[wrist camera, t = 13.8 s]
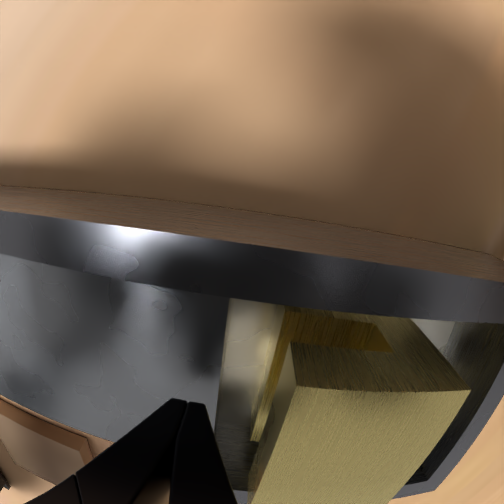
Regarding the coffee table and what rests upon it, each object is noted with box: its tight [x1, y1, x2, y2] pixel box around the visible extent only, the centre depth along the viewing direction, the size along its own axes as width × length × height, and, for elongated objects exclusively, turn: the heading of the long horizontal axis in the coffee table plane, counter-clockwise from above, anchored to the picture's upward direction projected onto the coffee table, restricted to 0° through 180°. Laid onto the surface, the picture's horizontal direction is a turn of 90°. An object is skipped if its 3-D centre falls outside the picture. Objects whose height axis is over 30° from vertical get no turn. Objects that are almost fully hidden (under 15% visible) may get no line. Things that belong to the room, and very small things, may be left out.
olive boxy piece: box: [247, 305, 471, 504], centre depth 8 cm, size 4×5×5 cm
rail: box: [0, 186, 504, 504], centre depth 8 cm, size 21×9×4 cm, turn 82°
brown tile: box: [0, 399, 93, 485], centre depth 12 cm, size 7×6×1 cm
